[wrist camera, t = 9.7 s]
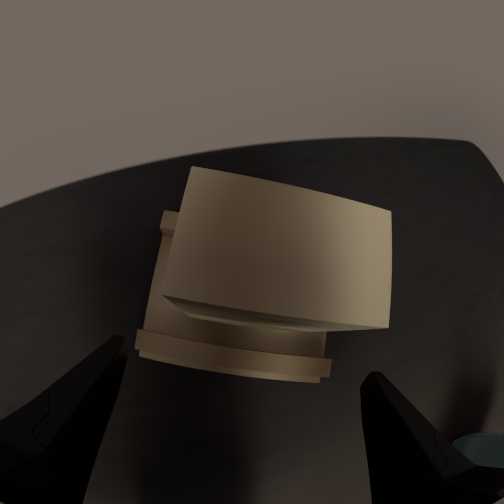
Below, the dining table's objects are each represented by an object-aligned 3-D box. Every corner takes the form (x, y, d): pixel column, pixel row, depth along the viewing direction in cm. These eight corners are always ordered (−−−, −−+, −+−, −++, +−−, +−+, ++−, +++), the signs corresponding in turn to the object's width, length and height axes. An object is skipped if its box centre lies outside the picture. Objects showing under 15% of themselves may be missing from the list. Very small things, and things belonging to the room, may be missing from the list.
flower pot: (489, 426, 20) (547, 434, 11) (457, 494, 17) (509, 514, 8) (449, 420, 19) (519, 433, 11) (411, 498, 17) (468, 531, 8)
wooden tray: (329, 246, 22) (343, 236, 20) (314, 380, 19) (327, 386, 17) (170, 216, 21) (166, 201, 18) (142, 355, 18) (133, 358, 16)
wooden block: (289, 280, 20) (390, 211, 8) (282, 332, 19) (388, 328, 7) (200, 264, 19) (191, 166, 8) (190, 317, 18) (160, 294, 7)
